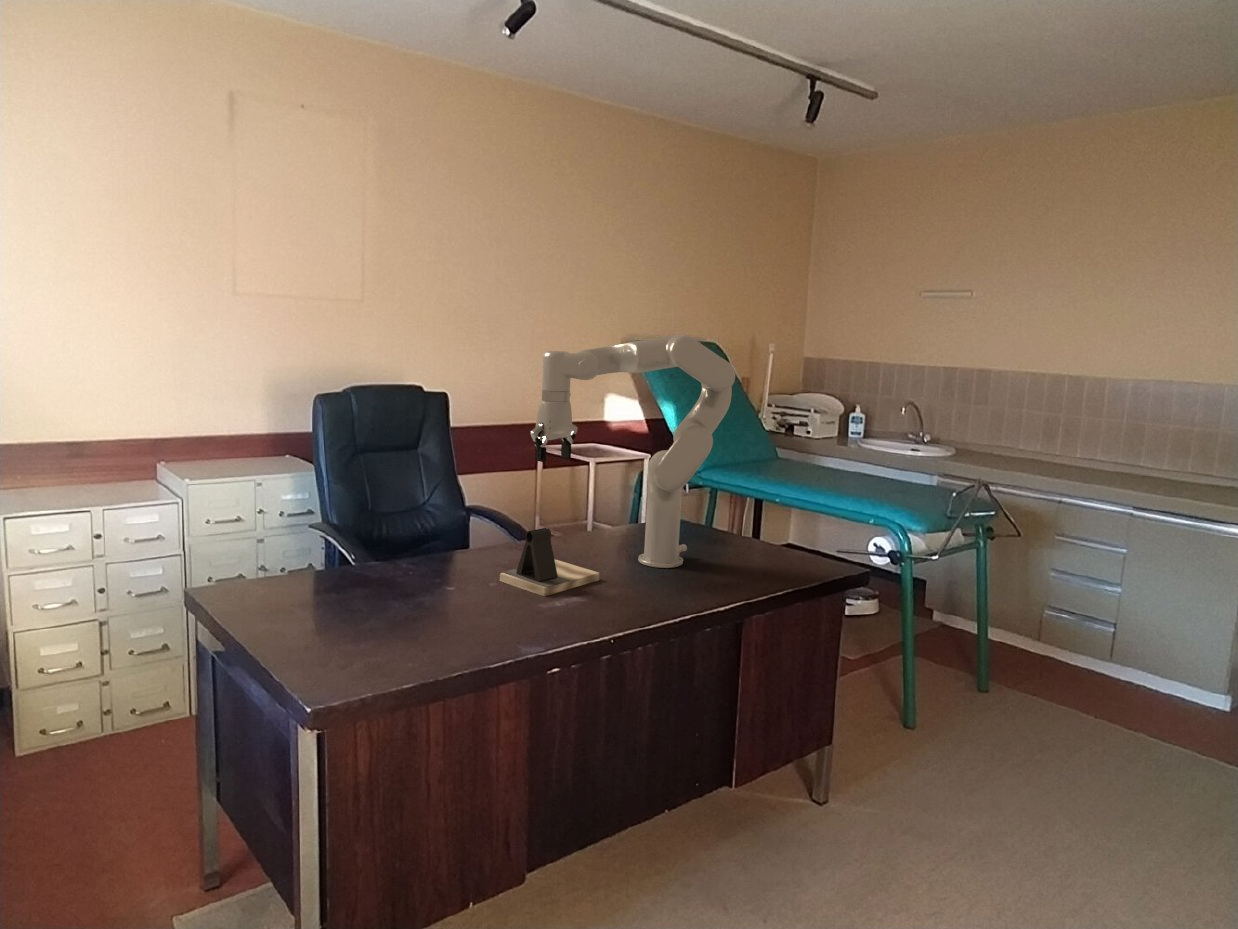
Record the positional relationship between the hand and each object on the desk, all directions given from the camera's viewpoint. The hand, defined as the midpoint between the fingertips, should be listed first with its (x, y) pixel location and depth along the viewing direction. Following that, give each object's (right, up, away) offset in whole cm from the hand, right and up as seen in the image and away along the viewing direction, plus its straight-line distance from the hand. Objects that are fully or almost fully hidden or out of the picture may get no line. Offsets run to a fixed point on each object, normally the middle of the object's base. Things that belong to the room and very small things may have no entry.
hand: (553, 459), depth 244 cm
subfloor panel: (0, -31, -14) cm, 34 cm away
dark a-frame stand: (-3, -30, -18) cm, 35 cm away
